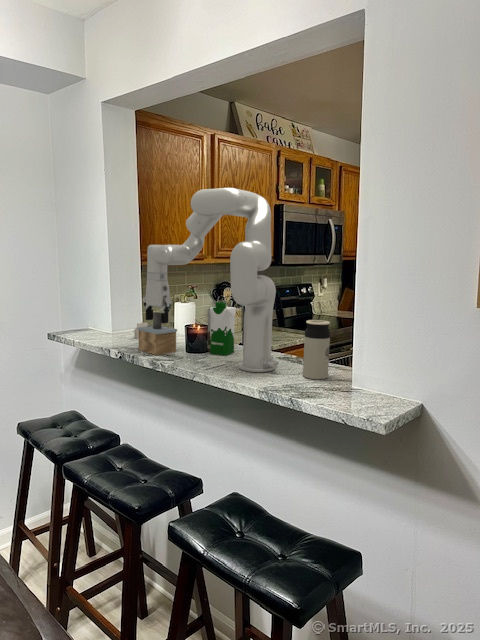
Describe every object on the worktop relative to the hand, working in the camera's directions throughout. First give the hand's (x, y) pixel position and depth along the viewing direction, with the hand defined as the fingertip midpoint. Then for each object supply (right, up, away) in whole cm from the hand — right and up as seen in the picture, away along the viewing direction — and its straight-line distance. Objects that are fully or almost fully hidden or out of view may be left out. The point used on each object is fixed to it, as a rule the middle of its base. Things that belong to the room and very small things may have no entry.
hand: (156, 321), depth 183 cm
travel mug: (+57, -18, -31) cm, 67 cm away
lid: (0, -4, 0) cm, 4 cm away
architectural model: (-12, -8, +28) cm, 31 cm away
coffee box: (+24, -11, +12) cm, 29 cm away
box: (0, -12, +2) cm, 12 cm away
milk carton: (+25, -13, +1) cm, 28 cm away
